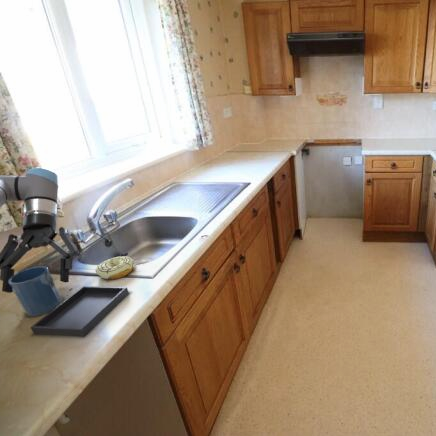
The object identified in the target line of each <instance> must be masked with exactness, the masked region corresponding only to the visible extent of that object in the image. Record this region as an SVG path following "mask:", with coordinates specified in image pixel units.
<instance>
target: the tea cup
mask: <svg viewBox="0 0 436 436" xmlns="http://www.w3.org/2000/svg"><path fill="white" fill-rule="evenodd" d="M8 282H9V284H10V286H11V288H12V290H13V294H14V295H15V297H16V299H17V301H18V302H19V304H20V306H21V307H22V309H23V311H24V313H25V314H26V316H28V317H38V316H42V315H47V314H48V313H49V312H51V311H52V310H53V309H54V308H56V307H57V306H58V305H60V304H61V303H62V302H63V301H64V300H63V296H62V295H61V293H60V291H59V288H58V287H57V285H56V282H55V280H54V278H53V277H52V274H51V272H50V270H49V268H48V267H47V266H45V265H44V266H42V265H41V266H40V265H39V266H33V267H30V268H26V269H23V270H21V271H18V272H17V273H14V275H13V276H12V277H11V278H10V279H9V281H8Z"/></svg>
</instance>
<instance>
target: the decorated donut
mask: <svg viewBox="0 0 436 436" xmlns="http://www.w3.org/2000/svg"><path fill="white" fill-rule="evenodd" d="M133 268H134V260H133V258H132V257H130V256H127V255H126V256H125V255H120V256H115V257H112V258H109V259H107V260H104V261H102V262H100V263H99V264H98V266H97V267H96V268H95V273H96V274H97V276H98V277H100V278H101V279H104V280H111V281H112V280H117V279H120V278H124V277H126V276H127V275H129V274H130V273H131V272H132V270H133Z"/></svg>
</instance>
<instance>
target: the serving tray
mask: <svg viewBox="0 0 436 436" xmlns="http://www.w3.org/2000/svg"><path fill="white" fill-rule="evenodd" d="M128 295H130V293H129V290H128V287H127V286H99V285H98V286H96V285H93V286H92V285H83V286H81V287H80V288H79V289H77V290H75V292H74V293H72V294H71V295H69V296H68V297H67V298H66V299H65V300H63V301H62V303H61V304H60V305H58V306H57V307H56V308H54V309H53V310H52V311H50V312H48V313H46V314H44V316H43V317H41V318H40V319H39V320H38V321H36V322H35V323H34V324H32V325H31V326H30V327H29V328H30V329H31V331H32V333H33V335H40V336H41V335H43V336H60V337H61V336H64V337H83V338H84V337H86V336H87V335H88V334H89V333H90V332H91V331H92V330H93V329H95V328H96V326H97V325H98V324H99V323H100V322H101V321H102V320H104V318H105V317H106V316H107V315H109V314H110V313H111V312H112V311H113V310H114V309H115V308H116V307H117V306H118V305H119V304H120V303H121V302H122V301H124V299H125V298H126V297H127V296H128Z"/></svg>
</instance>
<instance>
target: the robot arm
mask: <svg viewBox="0 0 436 436" xmlns="http://www.w3.org/2000/svg"><path fill="white" fill-rule="evenodd" d="M58 183H59V181H58V174H57V173H56V172H55V171H53V170H51V169H49V168H44V167H34V168H29V169H28V170H27V171H26V173H25V175H0V208H2V207H3V206H4V205H5V204H6V203H7V202H23V212H22V213H23V214H22V215H23V217H22V227H21V228H22V233H21V234H17V235H15V234H14V233H11V234H9V235H8V238H7V242H6V243H5V244H4V246H3V248H2V249H1V251H0V281H2V287H1V292H2V293H9V294H11V293H14V291H13V290H12V288H11V286H10V284H9V282H8V281H9V279H10V278H11V277H12V276H13V275H15V269H14V268H13V267H14V266H15V265H16V264H17V263H18V262H19V261H20V260H21V259H22V258H23V257H24V256H25V255H26V254H27V252H30V251H31V250H32V249H33V248H34V249H37V248H42V247H43V248H45V247H48V246H50V247H51V248H52V249H54V250H55V251H56V252H57V253H59V254H60V255H61V256H62V257H63V258H60V275H59V281H60V282H63V283H69V282H70V271H71V270H72V271H73V261H74V260H73V259H74V258H78V257H80V256H81V252H80V251H79V249H78V248H77V246H76V245H75V243H74V241H73V240H72V239H71V237H70V234H69V230H68V229H66V228H65V227H63V226H60V227H59V228H58V229H57V215H58V192H59V191H58V190H59V185H58ZM57 236H59V237H60V238H61V240H62V241H63V243H64V245H65V246H66V248H67V249H68V251H69V252H68V251H67V250H66V249H65V248H64V247H62V246H61V245H60V244H59V243H58V242H57V241H56V240H55V238H56V237H57Z"/></svg>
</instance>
